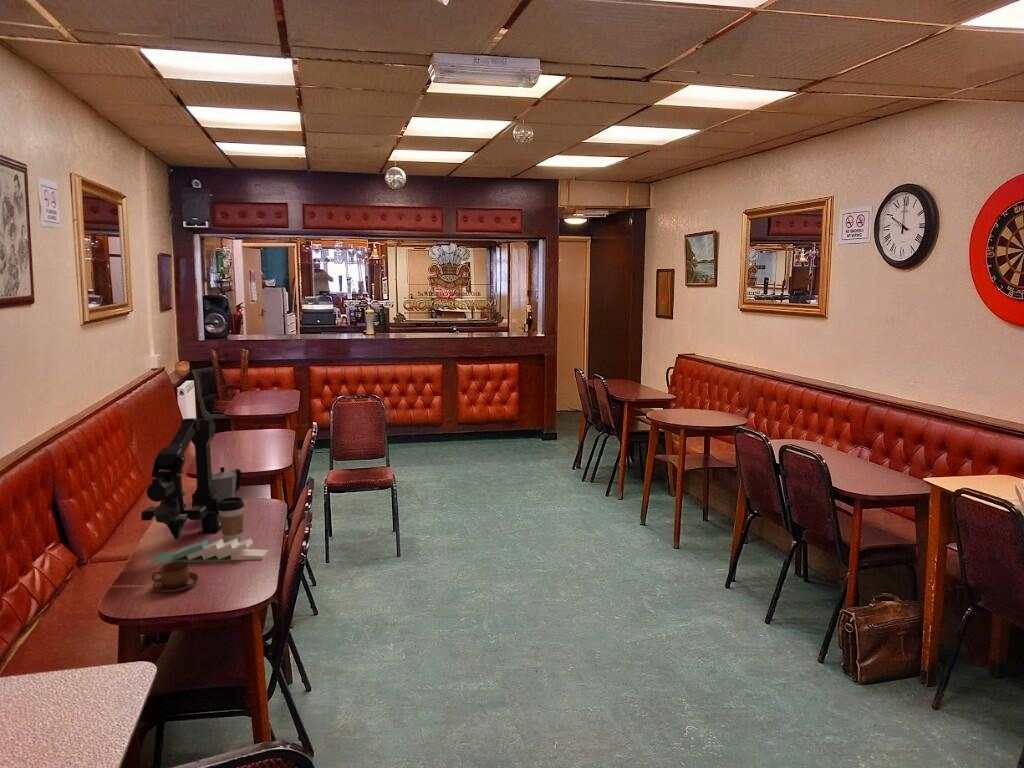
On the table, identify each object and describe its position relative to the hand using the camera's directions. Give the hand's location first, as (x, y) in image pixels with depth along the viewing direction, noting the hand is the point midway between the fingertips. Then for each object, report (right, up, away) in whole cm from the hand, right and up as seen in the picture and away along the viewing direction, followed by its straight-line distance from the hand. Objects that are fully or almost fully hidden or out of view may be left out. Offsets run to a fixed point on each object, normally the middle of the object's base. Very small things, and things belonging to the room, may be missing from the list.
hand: (177, 539), depth 230 cm
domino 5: (+18, -5, +1) cm, 18 cm away
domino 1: (0, -5, +1) cm, 5 cm away
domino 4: (+13, -5, +1) cm, 14 cm away
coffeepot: (-1, 0, +44) cm, 44 cm away
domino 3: (+9, -5, +1) cm, 10 cm away
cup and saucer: (+8, -10, -19) cm, 23 cm away
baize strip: (+5, -6, +1) cm, 8 cm away
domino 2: (+4, -5, +1) cm, 7 cm away
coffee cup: (+12, -4, +14) cm, 19 cm away
